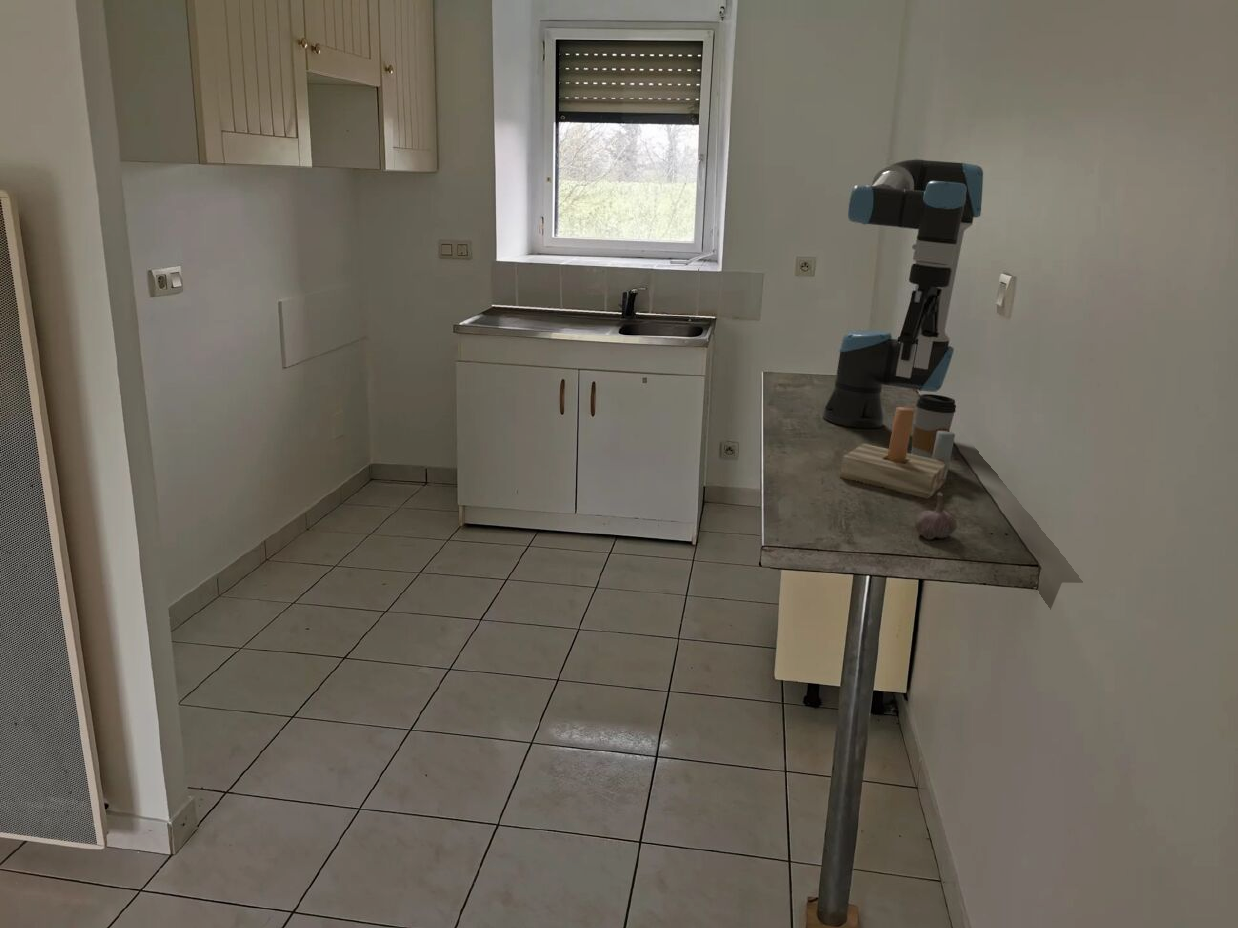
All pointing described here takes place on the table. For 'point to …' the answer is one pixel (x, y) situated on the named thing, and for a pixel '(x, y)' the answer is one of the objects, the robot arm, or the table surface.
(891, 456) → the tapered brown peg
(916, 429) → the coffee cup
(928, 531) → the garlic bulb
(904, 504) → the table surface
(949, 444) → the grey dowel
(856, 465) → the bore block
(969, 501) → the table surface
